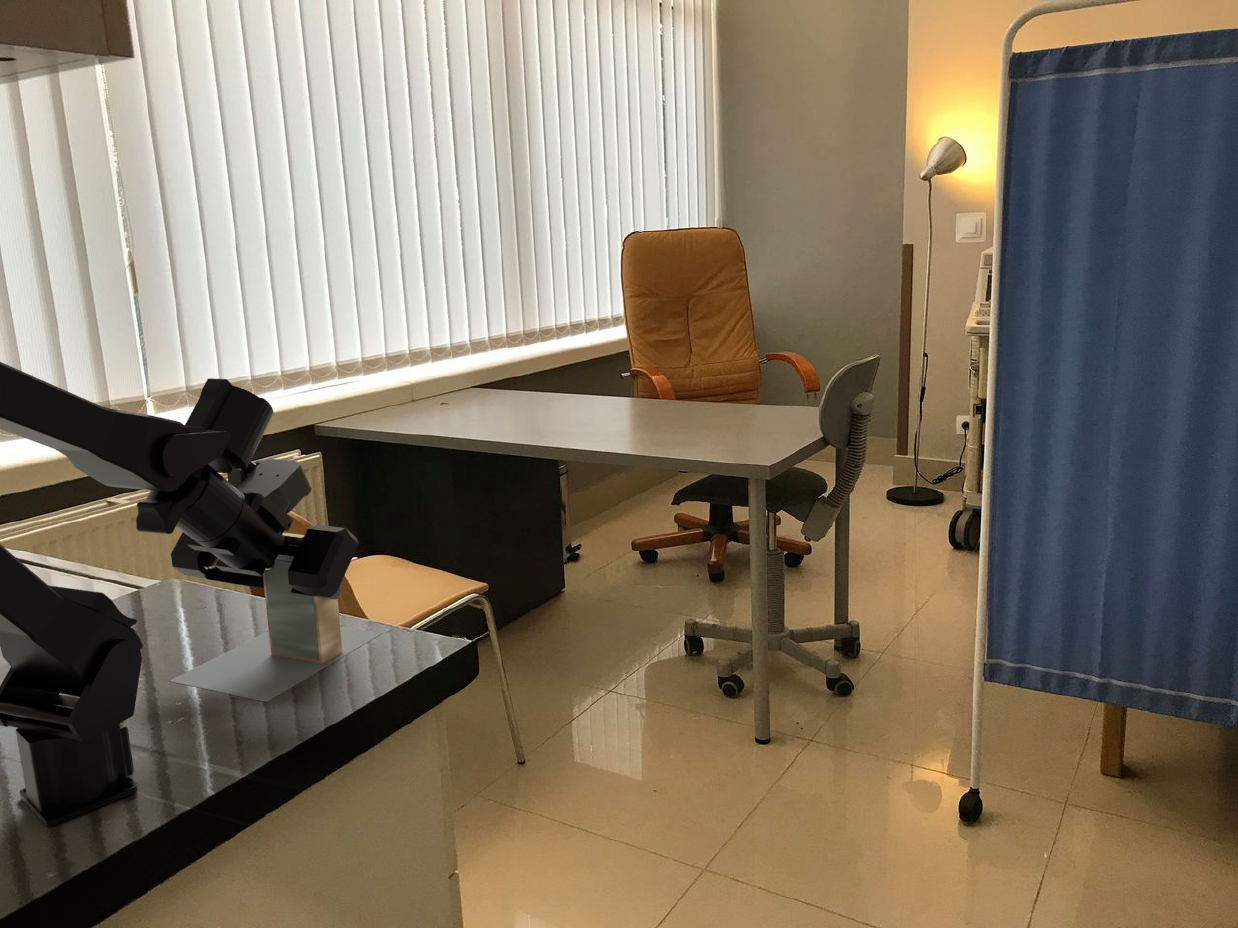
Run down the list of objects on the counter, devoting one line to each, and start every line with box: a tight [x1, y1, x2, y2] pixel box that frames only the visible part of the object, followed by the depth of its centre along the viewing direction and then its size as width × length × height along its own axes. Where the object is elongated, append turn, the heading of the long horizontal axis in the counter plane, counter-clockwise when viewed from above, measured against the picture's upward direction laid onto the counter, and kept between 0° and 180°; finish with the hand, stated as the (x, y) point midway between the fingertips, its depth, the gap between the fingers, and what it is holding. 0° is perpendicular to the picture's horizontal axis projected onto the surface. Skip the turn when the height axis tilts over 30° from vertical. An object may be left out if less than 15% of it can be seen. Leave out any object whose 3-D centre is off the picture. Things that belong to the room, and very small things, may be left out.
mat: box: [169, 625, 383, 703], centre depth 100 cm, size 17×12×1 cm
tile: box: [263, 532, 342, 664], centre depth 99 cm, size 3×6×12 cm, turn 66°
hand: (310, 590), depth 101 cm, fingers closed on tile, 6 cm apart
